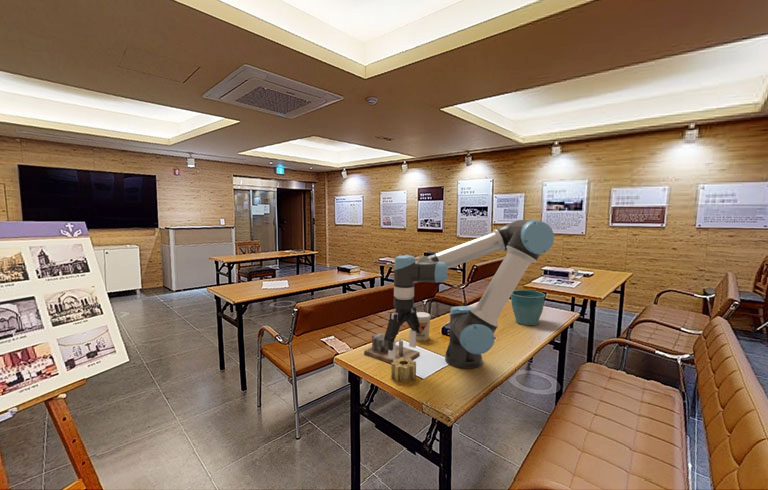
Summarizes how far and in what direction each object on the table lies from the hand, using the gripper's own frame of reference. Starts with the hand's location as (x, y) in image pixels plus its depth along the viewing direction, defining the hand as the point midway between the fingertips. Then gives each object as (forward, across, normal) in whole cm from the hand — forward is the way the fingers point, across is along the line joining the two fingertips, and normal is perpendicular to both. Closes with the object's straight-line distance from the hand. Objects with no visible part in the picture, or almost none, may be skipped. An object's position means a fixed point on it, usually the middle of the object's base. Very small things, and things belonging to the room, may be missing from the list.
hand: (402, 352), depth 125 cm
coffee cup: (+10, -38, -16) cm, 43 cm away
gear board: (+10, -13, -15) cm, 22 cm away
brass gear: (+10, 0, 0) cm, 10 cm away
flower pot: (+8, -96, +19) cm, 98 cm away
